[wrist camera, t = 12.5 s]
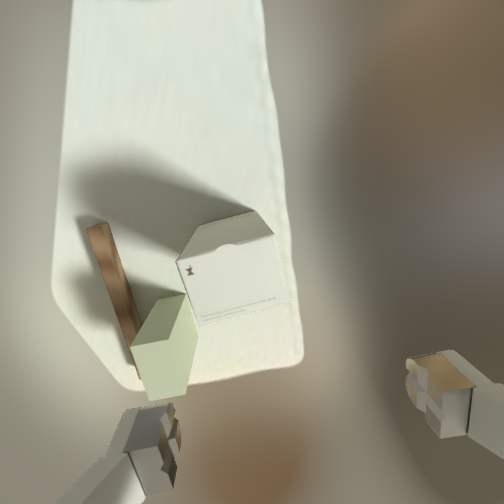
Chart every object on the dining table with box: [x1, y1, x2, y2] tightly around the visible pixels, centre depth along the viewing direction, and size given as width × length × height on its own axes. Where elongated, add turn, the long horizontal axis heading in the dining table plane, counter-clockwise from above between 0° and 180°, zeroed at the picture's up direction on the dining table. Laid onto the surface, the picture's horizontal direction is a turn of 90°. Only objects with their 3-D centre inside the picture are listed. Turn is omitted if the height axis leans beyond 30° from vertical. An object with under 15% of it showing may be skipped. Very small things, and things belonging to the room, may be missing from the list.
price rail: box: [86, 223, 142, 379], centre depth 38 cm, size 22×2×2 cm, turn 10°
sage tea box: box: [130, 294, 198, 401], centre depth 35 cm, size 7×4×11 cm, turn 10°
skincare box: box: [175, 211, 289, 327], centre depth 30 cm, size 8×7×16 cm
